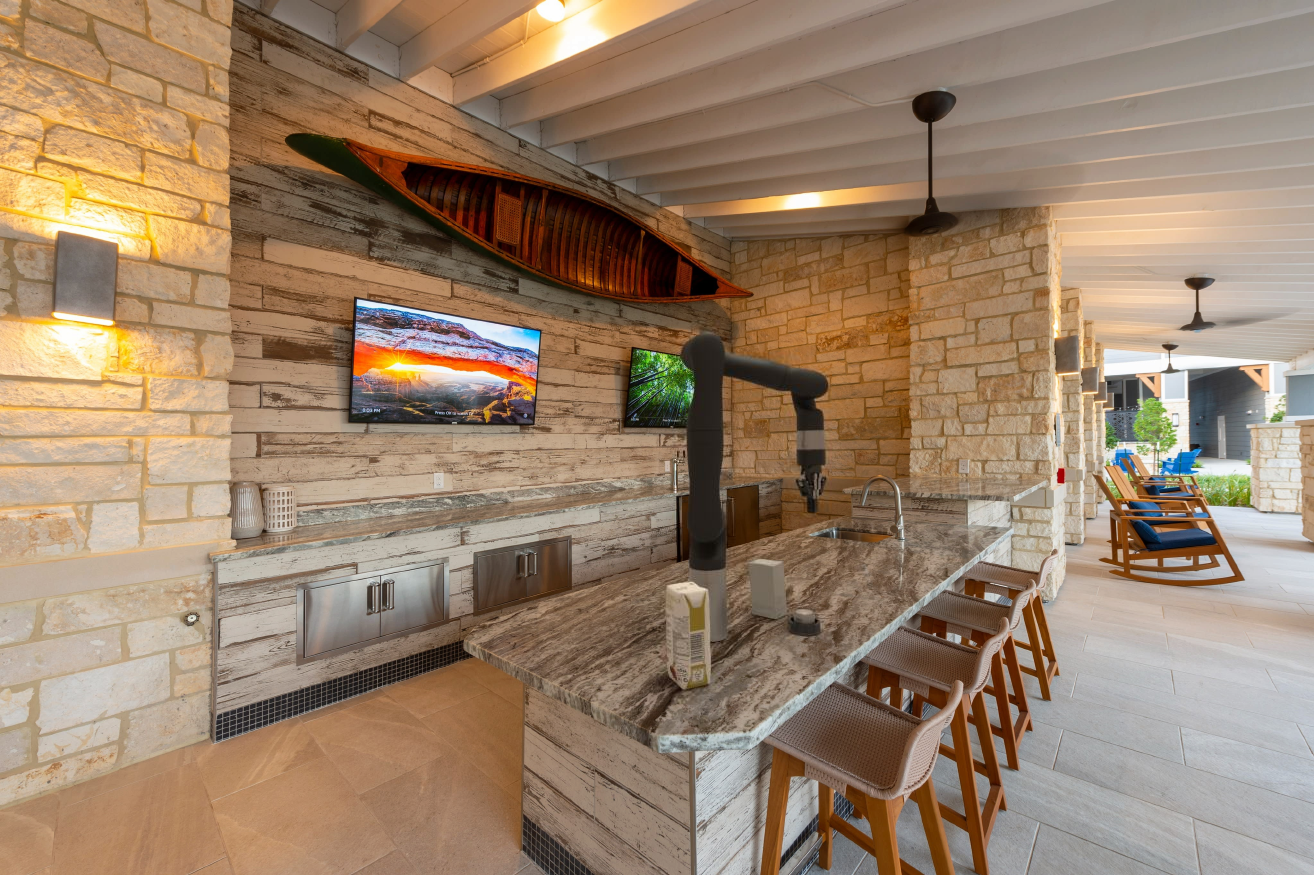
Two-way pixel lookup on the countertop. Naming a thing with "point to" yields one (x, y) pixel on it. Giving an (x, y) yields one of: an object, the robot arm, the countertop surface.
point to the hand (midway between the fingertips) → (812, 512)
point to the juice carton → (688, 634)
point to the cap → (804, 616)
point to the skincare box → (767, 588)
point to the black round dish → (804, 627)
